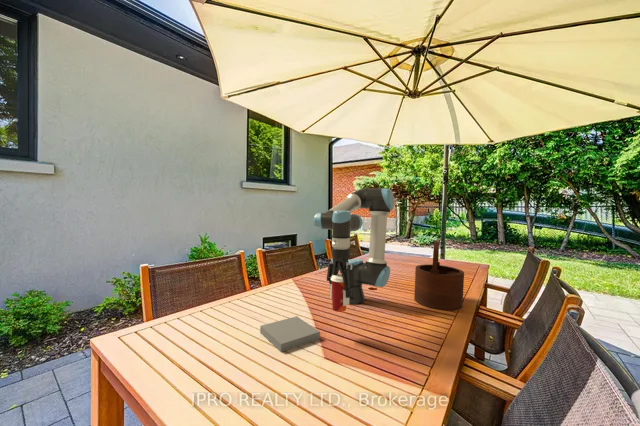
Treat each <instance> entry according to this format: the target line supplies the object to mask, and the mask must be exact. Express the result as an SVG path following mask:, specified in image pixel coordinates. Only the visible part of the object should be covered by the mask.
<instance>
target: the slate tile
mask: <svg viewBox="0 0 640 426" xmlns="http://www.w3.org/2000/svg"><path fill="white" fill-rule="evenodd" d="M259 327H260V329H259V332H260V333H259V334H261V335H262V336H263V337H264V338H266V340H268V342H270V343H271V344H272V346H274V348H276V349H277V351H279V352H280V353H282V352H285V351H288V350H291V349H294V348H297V347H300V346H303V345H306V344H308V343H312V342H314V341H318V340H320V339H321V331H320V330H318V329H317V328H316V327H314V326H312V325H311V324H309V323H308V322H306V321H305V320H303V319H301V318H300V317H298V316H293V317H288V318H286V319H281V320H277V321H274V322H270V323H266V324H262V325H260V326H259Z"/></svg>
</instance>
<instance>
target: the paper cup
mask: <svg viewBox="0 0 640 426" xmlns="http://www.w3.org/2000/svg"><path fill="white" fill-rule="evenodd" d="M331 282H332V300H331V302H332V304H331V305H332V311H334V312H338V313H341V312H342V313H343V312H345V311H346V310H347V305H346V306H343V290H344V289H345V287H344V281H343V278H342V274H341V273H338V274H337V275H332V278H331ZM347 287H348V286H347Z"/></svg>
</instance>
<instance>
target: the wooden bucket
mask: <svg viewBox="0 0 640 426" xmlns="http://www.w3.org/2000/svg"><path fill="white" fill-rule="evenodd" d="M439 250H440V241H434V242H433V250H432V264H419V265H416V266H415V271H414V273H415V275H414V293H413V294H414V295H413V296H414V297H413V299H414V302H415V303H417V304H419V305H420V306H422V307H425V308H428V309H433V310H435V311H436V310H437V311H442V312H443V311H447V312H449V311H450V312H454V311H459V310H462V308H463V306H464V305H463V303H464V283H465V271H464V270H462V269H459V268H456V267H452V266H447V265H442V264H441V262H440V261H439V256H440V255H439V252H440V251H439Z"/></svg>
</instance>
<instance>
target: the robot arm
mask: <svg viewBox="0 0 640 426" xmlns="http://www.w3.org/2000/svg"><path fill="white" fill-rule="evenodd" d="M360 209H363V210H365V209H367V210H368V212H369V213H370V216H371V220H370V232H369V233H370V235H369V244H368V245H369V247H368V248H369V249H368V257H367V258H366V259H365V262H364V260H363V259H361V258H351V259H349V258H350V256H351V255H350V254H351V251H350V250H351V249H350V248H351V233H352V232H357V231H358V230H360V229H361V228H362V227H363V223H364V221H363V218H362V216H360V215H359V214H356V213H352V212H353V211H358V210H360ZM394 209H395V195H394V193H393V190H392V189H390V188H385V187H382V188H381V187H377V188H372V187H371V188H360V189H357V190H356V191H353V192H351V193H349V194H348V195H347V196H346V197H345V199H343V200H342V201H341V202H339V203H338V204H335V206H333V207H331V208H329V210H327V211H325V212H316V214H315V215H314V216H313V226H314V227H315V228H316V229H320V230H329V231H330V230H331V231H332V233H331V237H332V238H331V247H332V248H331V257H332V258H328V259H327V261H328V262H327V263H328V266H327V274H326V281H327V282H328V284H329V292H330V294H329V295H330V297H329V300H331V301H332V282H331V278H332V275H337V274H342V278H343V281H344V287H345V289H344V290H343V306H346V307H347V306H349V305H358V304H362V303H364V302H365V300H366V299H365V298H366V297H365V296H366V295H365V294H364V293H365V292H364V288H363V285H368V286H372V287H377V288H378V287H379V288H384V287H385V286H386V285H387V284H388V282H389V279H390V275H391V274H390V273H391V268H390V266H388V262H387V261H386V260H385V252H386V241H387V239H386V238H387V237H386V236H387V226H388V216H389V215H390V214H391V211H393V210H394ZM339 272H340V273H339ZM347 286H348V287H347Z"/></svg>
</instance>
